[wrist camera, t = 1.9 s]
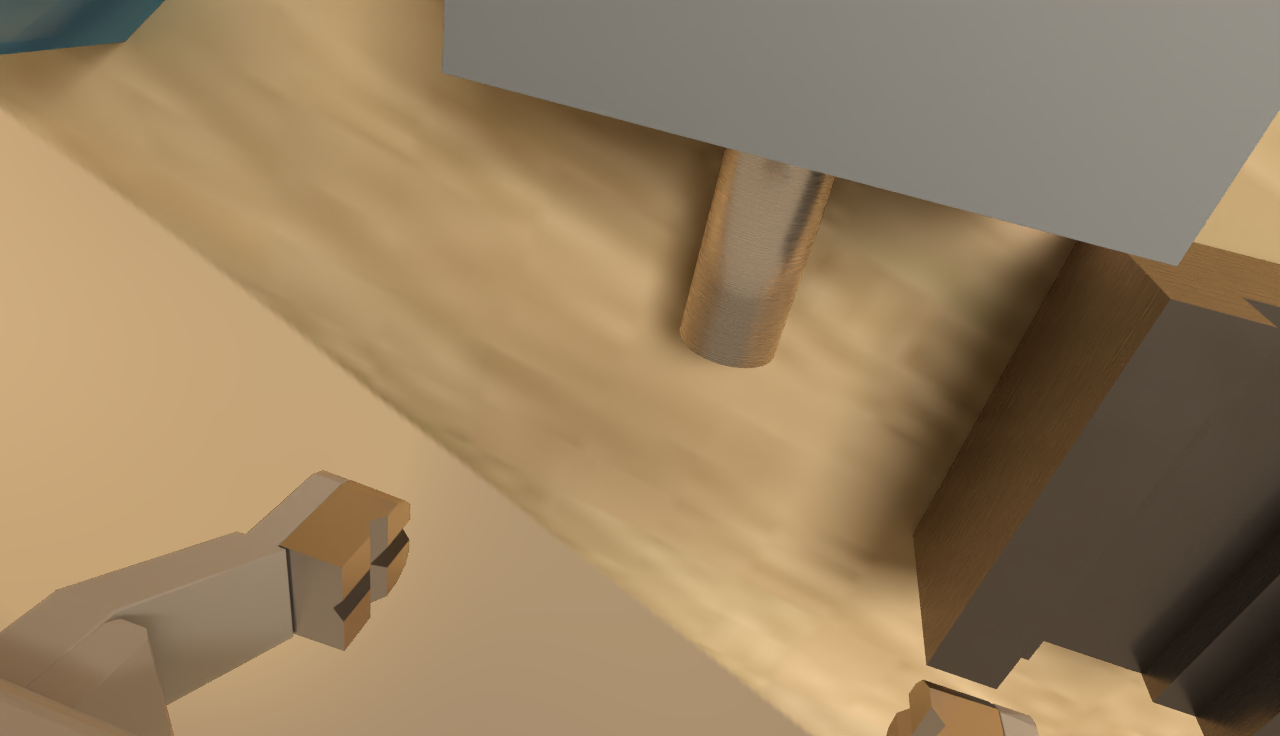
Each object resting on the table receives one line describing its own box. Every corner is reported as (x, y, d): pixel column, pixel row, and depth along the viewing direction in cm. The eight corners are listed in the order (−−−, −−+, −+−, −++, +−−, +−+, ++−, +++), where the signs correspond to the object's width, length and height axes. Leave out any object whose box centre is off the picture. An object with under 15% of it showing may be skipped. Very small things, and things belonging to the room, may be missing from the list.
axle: (812, -130, 17) (784, -151, 14) (937, -106, 16) (930, -124, 14) (698, 306, 23) (665, 343, 21) (784, 338, 23) (761, 379, 20)
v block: (1091, 215, 19) (1170, 298, 14) (1509, 324, 17) (1748, 453, 13) (913, 535, 25) (926, 665, 20) (1209, 630, 24) (1295, 792, 19)
